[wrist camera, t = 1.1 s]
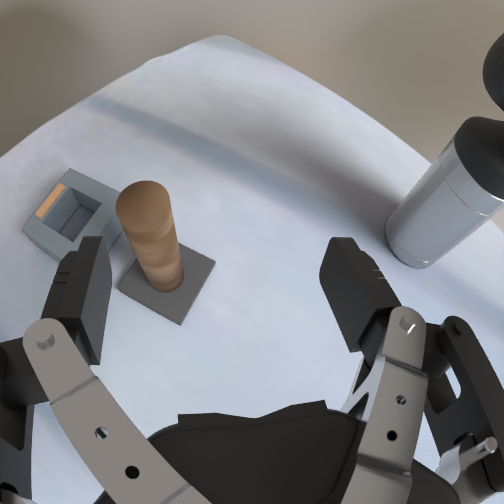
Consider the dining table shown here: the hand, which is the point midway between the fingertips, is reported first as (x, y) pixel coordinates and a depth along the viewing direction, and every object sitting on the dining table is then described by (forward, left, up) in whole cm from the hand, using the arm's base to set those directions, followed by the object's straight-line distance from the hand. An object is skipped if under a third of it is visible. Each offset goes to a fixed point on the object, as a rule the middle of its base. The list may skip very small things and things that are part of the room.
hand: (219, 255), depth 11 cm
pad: (-5, -8, -24) cm, 25 cm away
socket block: (-5, -21, -24) cm, 32 cm away
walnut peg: (-5, -8, -23) cm, 25 cm away
